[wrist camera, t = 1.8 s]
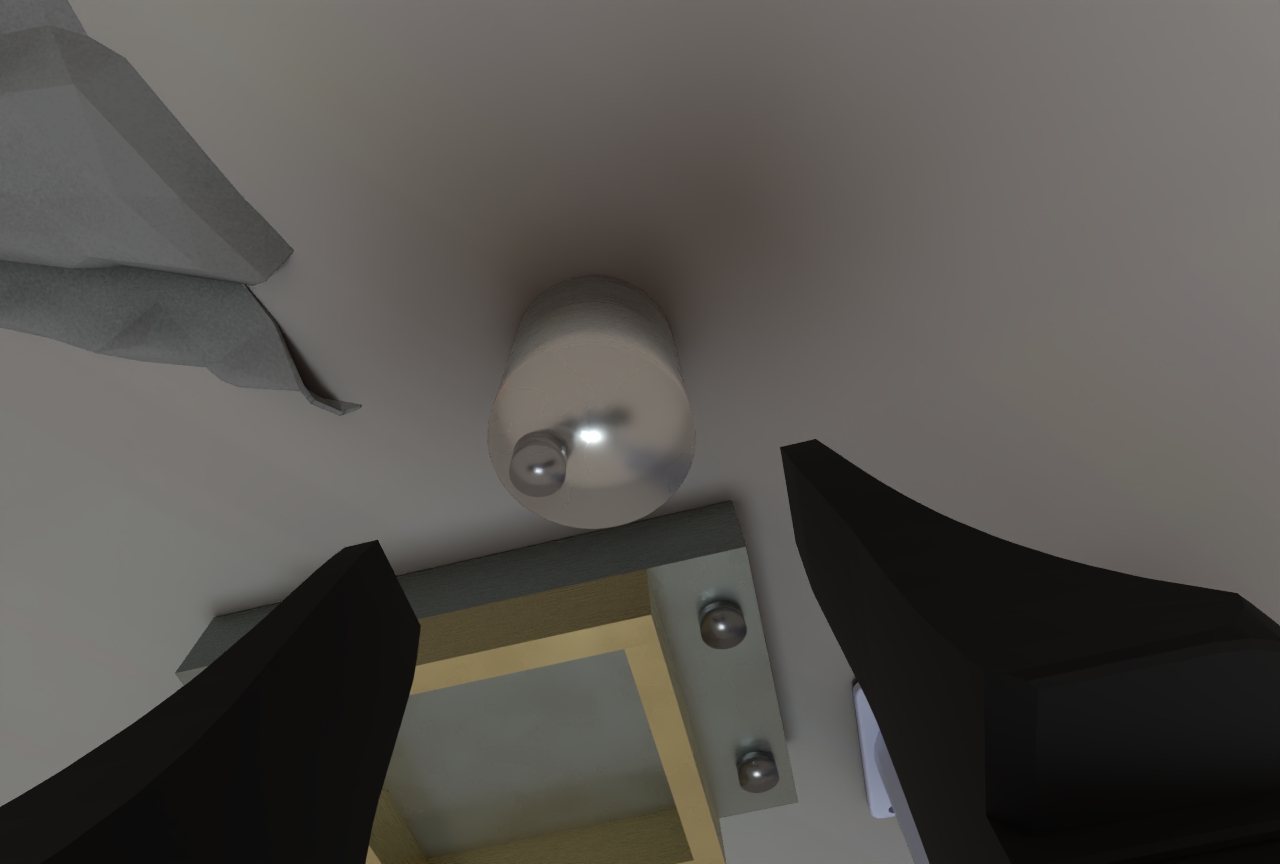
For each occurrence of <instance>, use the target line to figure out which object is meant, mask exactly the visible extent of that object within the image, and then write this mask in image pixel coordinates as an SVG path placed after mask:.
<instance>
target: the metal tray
mask: <svg viewBox="0 0 1280 864" xmlns="http://www.w3.org/2000/svg"><path fill="white" fill-rule="evenodd" d="M397 579H398V581H399V583H400V585H401V587H402V589H403V591H404V593H405V595H406V597H407V599H408V601H409V603H410V605H411V607H412V609H413V611H414V613H415V615H416V617H417V619H418V621H419V623H420V625H421V629H420V638H419V647H418V655H417V662H416V668H415V674H414V680H413V683H412V687H411V691H410V695H409V698H408V702H407V705H406V709H405V712H404V716H403V719H402V723H401V726H400V730H399V733H398V736H397V740H396V743H395V747H394V750H393V753H392V757H391V760H390V764H389V767H388V770H387V774H386V777H385V781H384V784H383V787H382V791H381V794H380V798H379V802H378V806H377V810H376V814H375V818H374V822H373V826H372V831H371V836H370V842H369V847H368V853H367V858H366V864H726V858H725V852H724V846H723V840H722V834H721V827H720V821H719V818H722V817H727V816H732V815H737V814H742V813H747V812H752V811H757V810H762V809H767V808H772V807H777V806H782V805H787V804H792V803H797V802H798V799H797V794H796V789H795V784H794V779H793V774H792V769H791V764H790V760H789V755H788V750H787V745H786V740H785V735H784V730H783V725H782V721H781V716H780V711H779V706H778V701H777V696H776V691H775V686H774V681H773V677H772V672H771V667H770V662H769V657H768V652H767V647H766V642H765V638H764V633H763V628H762V623H761V618H760V613H759V608H758V603H757V599H756V594H755V589H754V584H753V579H752V574H751V569H750V564H749V559H748V555H747V550H746V546H745V542H744V539H743V536H742V533H741V529H740V526H739V523H738V520H737V516H736V513H735V510H734V507H733V503H732V501H729V502H725V503H720V504H716V505H711V506H707V507H703V508H698V509H694V510H689V511H685V512H681V513H676V514H672V515H667V516H663V517H658V518H654V519H650V520H645V521H641V522H636V523H632V524H627V525H623V526H619V527H614V528H610V529H605V530H601V531H596V532H592V533H588V534H583V535H579V536H574V537H570V538H565V539H561V540H557V541H552V542H548V543H543V544H539V545H534V546H530V547H526V548H521V549H517V550H512V551H508V552H503V553H499V554H495V555H490V556H486V557H481V558H477V559H472V560H468V561H464V562H459V563H455V564H450V565H446V566H441V567H437V568H433V569H428V570H424V571H419V572H415V573H410V574H406V575H402V576H397ZM279 604H280V603H278V604H273V605H269V606H264V607H260V608H255V609H251V610H247V611H242V612H238V613H233V614H229V615H224V616H220V617H216V618H213V620H212V621H211V623H210V624H209V625H208V627H207V628H206V630H205V631H204V633H203V634H202V635H201V637H200V638H199V640H198V641H197V643H196V644H195V645H194V647H193V648H192V650H191V651H190V653H189V654H188V655H187V657H186V658H185V660H184V661H183V663H182V664H181V665H180V667H179V668H178V670H177V671H176V673H175V674H176V675H177V677H178V678H179V679H180V681H181V682H182V684H183V685H186V684H187V683H188V682H189V681H191V680H192V679H193V678H194V677H196V676H197V675H198V674H199V673H201V672H202V671H203V670H204V669H206V668H207V667H208V666H209V665H210V664H211V663H213V662H214V661H215V660H216V659H217V658H218V657H220V656H221V655H222V654H223V653H224V652H225V651H227V650H228V649H229V648H230V647H231V646H232V645H234V644H235V643H236V642H237V641H238V640H239V639H241V638H242V637H243V636H244V635H245V634H246V633H248V632H249V631H250V630H251V629H252V628H253V627H255V626H256V625H257V624H258V623H259V622H260V621H261V620H262V619H263V618H264V617H266V616H267V615H268V614H269V613H270V612H271V611H272V610H273V609H274V608H275V607H277V606H278V605H279Z"/></svg>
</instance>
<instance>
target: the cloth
mask: <svg viewBox="0 0 1280 864" xmlns="http://www.w3.org/2000/svg"><path fill="white" fill-rule="evenodd" d="M293 251H294V250H293V249H292V248H291V247H290V246H289V245H288V244H287V242H286V241H285V240H284V239H283V238H282V237H281V236H280V235H279V234H278V233H277V232H276V231H275V230H274V229H273V227H272V226H271V225H270V224H269V223H268V222H267V221H266V220H265V219H264V218H263V217H262V216H261V215H260V214H259V213H258V212H257V211H256V210H255V209H254V208H253V207H252V206H251V205H250V204H249V203H248V202H247V201H246V200H245V199H244V198H243V197H242V196H241V194H240V193H239V192H238V191H237V190H236V189H235V188H234V186H233V185H232V184H231V183H230V182H229V181H228V180H227V178H226V177H225V176H224V175H223V174H222V172H221V171H220V170H219V169H218V168H217V166H216V165H215V164H214V163H213V162H212V161H211V159H210V158H209V157H208V156H207V155H206V153H205V152H204V151H203V150H202V149H201V147H200V146H199V145H198V144H197V143H196V141H195V140H194V139H193V138H192V137H191V136H190V134H189V133H188V132H187V131H186V130H185V128H184V127H183V126H182V125H181V124H180V122H179V121H178V120H177V119H176V118H175V116H174V115H173V114H172V113H171V112H170V110H169V109H168V108H167V107H166V106H165V105H164V103H163V102H162V101H161V100H160V99H159V97H158V96H157V95H156V94H155V93H154V91H153V90H152V89H151V88H150V87H149V85H148V84H147V83H146V82H145V81H144V80H143V78H142V77H141V76H140V75H139V74H138V72H137V71H136V70H135V69H134V68H133V66H132V65H131V64H130V63H129V62H128V60H127V59H126V58H124V57H122V56H121V55H119V54H117V53H116V52H114V51H112V50H111V49H109V48H107V47H106V46H104V45H102V44H101V43H99V42H97V41H96V40H94V39H92V38H90V37H89V36H88V35H87V33H86V31H85V30H84V28H83V26H82V24H81V23H80V21H79V19H78V18H77V16H76V14H75V12H74V11H73V9H72V7H71V5H70V4H69V2H68V0H0V327H1V328H6V329H10V330H15V331H19V332H24V333H29V334H33V335H38V336H42V337H47V338H51V339H55V340H58V341H61V342H64V343H67V344H70V345H73V346H76V347H79V348H83V349H86V350H89V351H92V352H95V353H101V354H106V355H111V356H117V357H122V358H127V359H133V360H138V361H146V362H156V363H167V364H178V365H188V366H199V367H206V368H207V369H209V370H210V371H211V372H212V373H213V374H214V375H216V376H217V377H218V378H219V379H220V380H222V381H225V382H227V383H230V384H233V385H235V386H238V387H247V388H263V389H279V390H295V391H301V393H302V394H303V395H304V396H305V397H306V398H307V400H308V401H309V402H310V403H311V404H312V405H315V406H317V407H320V408H322V409H325V410H327V411H330V412H332V413H335V414H337V415H339V416H341V415H344V414H346V413H349V412H352V411H354V410H357V409H359V408H361V406H362V405H359V404H353V403H348V402H342V401H337V400H331V399H326V398H321V397H320V396H318V395H316V394H314V393H313V392H311V391H309V390H308V389H306V387H305V386H304V384H303V382H302V380H301V377H300V375H299V373H298V370H297V368H296V366H295V364H294V361H293V359H292V357H291V354H290V352H289V350H288V348H287V345H286V343H285V341H284V338H283V336H282V334H281V331H280V329H279V327H278V325H277V322H276V321H275V320H274V319H273V317H272V316H271V315H270V313H269V312H268V311H267V310H266V308H265V307H264V306H263V305H262V304H261V302H260V301H259V300H258V299H257V298H256V296H255V295H254V294H253V293H252V292H251V290H250V289H249V288H248V287H247V285H252V286H254V285H256V284H259V283H261V282H264V281H266V280H268V278H269V277H270V276H271V275H272V274H273V273H274V272H275V271H276V270H277V269H278V268H279V266H280V265H281V264H282V263H283V262H284V261H285V260H286V259H287V258H288V257H289V255H290V254H291V253H292V252H293Z"/></svg>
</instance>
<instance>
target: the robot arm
mask: <svg viewBox="0 0 1280 864" xmlns="http://www.w3.org/2000/svg"><path fill="white" fill-rule="evenodd" d="M780 449H781V455H782V461H783V467H784V473H785V479H786V485H787V492H788V498H789V504H790V510H791V516H792V522H793V528H794V534H795V540H796V545H797V548H798V550H799V553H800V556H801V559H802V562H803V565H804V568H805V571H806V574H807V576H808V579H809V582H810V585H811V587H812V590H813V593H814V595H815V597H816V599H817V601H818V603H819V605H820V607H821V609H822V611H823V613H824V615H825V617H826V619H827V621H828V623H829V625H830V627H831V629H832V631H833V633H834V635H835V637H836V639H837V641H838V643H839V645H840V647H841V649H842V651H843V653H844V655H845V657H846V659H847V661H848V663H849V665H850V667H851V669H852V671H853V673H854V675H855V677H856V679H857V681H858V683H856V684H855V686H854V687H853V697H854V704H855V711H856V719H857V726H858V734H859V741H860V749H861V756H862V763H863V771H864V778H865V786H866V793H867V801H868V807H869V810H870V812H871V815H872V816H874V817H875V818H887V817H892V816H896V818H897V820H898V823H899V825H900V828H901V830H902V833H903V835H904V838H905V841H906V843H907V846H908V848H909V851H910V853H911V856H912V858H913V861H914V863H915V864H1280V626H1279V625H1278V624H1277V623H1276V622H1275V621H1273V620H1272V619H1271V618H1269V617H1268V616H1267V615H1266V614H1264V613H1263V612H1262V611H1260V610H1259V609H1258V608H1257V607H1255V606H1254V605H1253V604H1251V603H1250V602H1249V601H1247V600H1246V599H1244V598H1243V597H1241V596H1240V595H1239V594H1238V593H1233V592H1227V591H1220V590H1214V589H1208V588H1202V587H1196V586H1190V585H1184V584H1178V583H1172V582H1166V581H1160V580H1154V579H1148V578H1143V577H1138V576H1133V575H1129V574H1124V573H1120V572H1116V571H1111V570H1107V569H1103V568H1098V567H1094V566H1089V565H1086V564H1082V563H1078V562H1074V561H1071V560H1067V559H1063V558H1059V557H1056V556H1053V555H1050V554H1046V553H1043V552H1040V551H1037V550H1034V549H1030V548H1027V547H1024V546H1021V545H1018V544H1015V543H1012V542H1009V541H1006V540H1003V539H1000V538H998V537H995V536H992V535H990V534H987V533H985V532H982V531H980V530H977V529H975V528H972V527H970V526H968V525H965V524H963V523H960V522H958V521H955V520H953V519H951V518H949V517H947V516H944V515H942V514H940V513H938V512H936V511H934V510H932V509H930V508H928V507H926V506H924V505H922V504H920V503H918V502H916V501H914V500H912V499H910V498H908V497H907V496H905V495H903V494H901V493H899V492H898V491H896V490H894V489H892V488H891V487H889V486H887V485H886V484H884V483H882V482H881V481H879V480H877V479H876V478H874V477H872V476H871V475H869V474H868V473H866V472H865V471H863V470H861V469H860V468H858V467H857V466H855V465H854V464H852V463H851V462H849V461H848V460H846V459H845V458H843V457H842V456H840V455H839V454H837V453H836V452H835V451H833V450H832V449H830V448H829V447H827V446H826V445H824V444H822V443H821V442H819V441H818V440H816V439H814V440H810V441H805V442H801V443H797V444H792V445H788V446H783V447H780ZM420 629H421V625H420V623H419V621H418V619H417V617H416V615H415V613H414V611H413V609H412V607H411V605H410V603H409V601H408V599H407V597H406V595H405V593H404V591H403V589H402V587H401V585H400V583H399V581H398V579H397V577H396V575H395V573H394V571H393V569H392V567H391V565H390V563H389V561H388V559H387V557H386V555H385V553H384V551H383V549H382V547H381V545H380V543H379V541H378V540H375V541H371V542H366V543H362V544H358V545H353V546H349V547H345V548H344V549H342V550H341V551H340V552H338V553H337V554H335V555H334V556H333V557H332V558H330V559H329V560H328V561H327V562H326V563H324V564H323V565H322V566H321V567H320V568H319V569H317V570H316V571H315V572H314V573H313V574H312V575H311V576H310V577H308V578H307V579H306V580H305V581H304V582H303V583H302V584H301V585H300V586H299V587H297V588H296V589H295V590H294V591H293V592H292V593H291V594H290V595H289V596H288V597H286V598H285V599H284V600H283V601H282V602H281V603H280V604H279V605H278V606H277V607H275V608H274V609H273V610H272V611H271V612H270V613H269V614H268V615H267V616H266V617H264V618H263V619H262V620H261V621H260V622H259V623H258V624H257V625H256V626H255V627H253V628H252V629H251V630H250V631H249V632H248V633H246V634H245V635H244V636H243V637H242V638H241V639H239V640H238V641H237V642H236V643H235V644H234V645H232V646H231V647H230V648H229V649H228V650H227V651H225V652H224V653H223V654H222V655H221V656H220V657H218V658H217V659H216V660H215V661H214V662H213V663H211V664H210V665H209V666H208V667H207V668H206V669H204V670H203V671H202V672H201V673H199V674H198V675H197V676H196V677H194V678H193V679H192V680H191V681H189V682H188V683H187V684H186V685H184V686H183V687H182V688H180V689H179V690H178V691H177V692H175V693H174V694H173V695H171V696H170V697H169V698H167V699H166V700H165V701H163V702H162V703H160V704H159V705H158V706H156V707H155V708H154V709H152V710H151V711H150V712H148V713H147V714H146V715H144V716H143V717H142V718H140V719H139V720H137V721H136V722H134V723H133V724H132V725H130V726H129V727H127V728H126V729H124V730H123V731H121V732H120V733H118V734H117V735H115V736H114V737H112V738H111V739H109V740H108V741H106V742H105V743H103V744H102V745H100V746H98V747H97V748H95V749H94V750H92V751H91V752H89V753H88V754H86V755H85V756H83V757H82V758H80V759H79V760H77V761H76V762H74V763H73V764H71V765H70V766H68V767H67V768H65V769H63V770H62V771H60V772H59V773H57V774H55V775H54V776H52V777H50V778H49V779H47V780H45V781H44V782H42V783H40V784H39V785H37V786H35V787H34V788H32V789H30V790H29V791H27V792H25V793H24V794H22V795H20V796H19V797H17V798H15V799H13V800H12V801H10V802H8V803H6V804H5V805H3V806H1V807H0V864H366V858H367V853H368V847H369V842H370V836H371V831H372V826H373V822H374V818H375V814H376V810H377V806H378V802H379V798H380V794H381V791H382V787H383V784H384V781H385V777H386V774H387V770H388V767H389V764H390V760H391V757H392V753H393V750H394V747H395V743H396V740H397V736H398V733H399V730H400V726H401V723H402V719H403V716H404V712H405V709H406V705H407V702H408V698H409V695H410V691H411V687H412V683H413V680H414V674H415V668H416V662H417V655H418V647H419V638H420Z"/></svg>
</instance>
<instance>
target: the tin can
mask: <svg viewBox="0 0 1280 864" xmlns="http://www.w3.org/2000/svg"><path fill="white" fill-rule="evenodd" d="M695 444H696V431H695V424H694V418H693V414H692V410H691V406H690V403H689V399H688V395H687V391H686V387H685V383H684V379H683V375H682V371H681V367H680V364H679V360H678V356H677V352H676V348H675V344H674V340H673V336H672V333H671V329H670V326H669V324H668V322H667V320H666V317H665V316H664V314H663V313H662V311H661V309H660V308H659V307H658V306H657V304H656V303H655V302H654V301H653V300H652V299H651V298H650V297H649V296H648V295H647V294H645V293H644V292H643V291H641V290H640V289H638V288H637V287H635V286H633V285H631V284H629V283H627V282H624V281H622V280H619V279H615V278H611V277H606V276H582V277H576V278H572V279H569V280H566V281H563V282H561V283H559V284H556V285H554V286H553V287H551V288H549V289H548V290H546V291H545V292H544V293H542V294H541V295H540V296H539V297H538V298H537V299H536V300H535V301H534V302H533V303H532V304H531V305H530V307H529V308H528V310H527V311H526V313H525V314H524V316H523V318H522V321H521V323H520V325H519V328H518V331H517V334H516V337H515V341H514V344H513V347H512V350H511V353H510V356H509V359H508V362H507V365H506V368H505V371H504V374H503V378H502V381H501V384H500V387H499V390H498V393H497V396H496V399H495V402H494V405H493V409H492V412H491V415H490V418H489V425H488V448H489V454H490V458H491V461H492V464H493V467H494V469H495V471H496V473H497V475H498V477H499V479H500V481H501V482H502V484H503V485H504V487H505V488H506V489H507V490H508V492H509V493H510V494H511V495H512V496H513V497H514V498H515V499H516V500H517V501H518V502H519V503H520V504H522V505H523V506H524V507H526V508H527V509H529V510H530V511H531V512H533V513H535V514H537V515H539V516H540V517H542V518H544V519H547V520H549V521H552V522H554V523H558V524H561V525H565V526H569V527H575V528H585V529H600V528H609V527H615V526H620V525H623V524H627V523H630V522H633V521H635V520H638V519H640V518H642V517H644V516H646V515H648V514H650V513H651V512H653V511H655V510H656V509H657V508H659V507H660V506H661V505H663V504H664V503H665V502H666V501H667V500H668V499H669V498H670V497H671V496H672V495H673V494H674V493H675V492H676V491H677V489H678V488H679V487H680V485H681V484H682V482H683V481H684V479H685V477H686V475H687V473H688V471H689V469H690V467H691V463H692V460H693V457H694V451H695Z"/></svg>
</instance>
